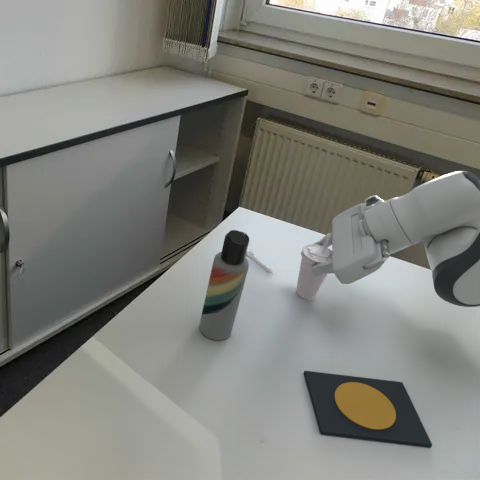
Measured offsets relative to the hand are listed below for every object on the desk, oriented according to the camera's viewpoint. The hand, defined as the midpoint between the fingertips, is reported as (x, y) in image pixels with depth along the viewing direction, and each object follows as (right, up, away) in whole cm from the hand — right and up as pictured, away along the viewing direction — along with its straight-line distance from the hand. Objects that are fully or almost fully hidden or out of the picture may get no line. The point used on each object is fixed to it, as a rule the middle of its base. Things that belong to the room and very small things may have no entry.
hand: (313, 260), depth 103 cm
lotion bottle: (-20, -12, -7) cm, 25 cm away
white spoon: (-10, 0, +13) cm, 16 cm away
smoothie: (0, -7, +4) cm, 8 cm away
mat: (+1, -22, -19) cm, 30 cm away
